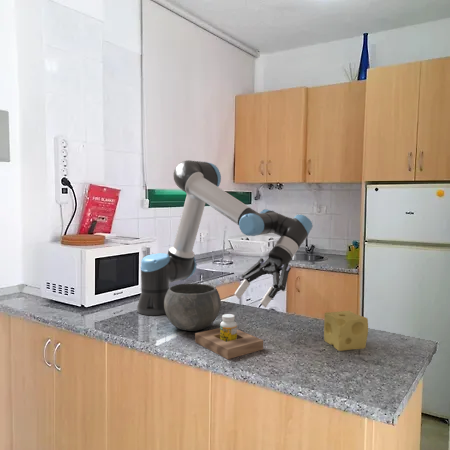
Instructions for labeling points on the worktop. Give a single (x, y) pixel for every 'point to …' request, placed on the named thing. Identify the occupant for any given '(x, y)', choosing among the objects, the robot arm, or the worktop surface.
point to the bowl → (192, 306)
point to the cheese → (345, 330)
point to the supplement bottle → (228, 328)
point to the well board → (229, 343)
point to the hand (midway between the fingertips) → (249, 300)
